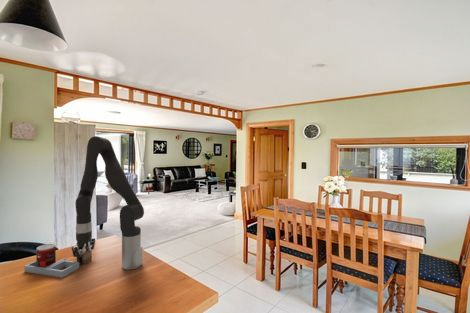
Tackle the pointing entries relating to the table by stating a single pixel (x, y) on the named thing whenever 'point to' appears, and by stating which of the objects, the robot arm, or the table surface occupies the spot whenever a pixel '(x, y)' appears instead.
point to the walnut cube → (86, 256)
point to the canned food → (46, 255)
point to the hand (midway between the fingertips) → (84, 260)
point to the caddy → (53, 268)
